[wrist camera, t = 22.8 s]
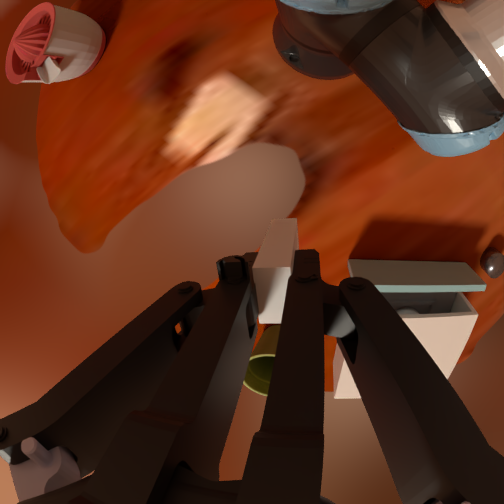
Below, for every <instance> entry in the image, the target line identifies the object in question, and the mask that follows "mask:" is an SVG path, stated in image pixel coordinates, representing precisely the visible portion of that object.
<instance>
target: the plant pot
mask: <svg viewBox="0 0 504 504" xmlns="http://www.w3.org/2000/svg"><path fill="white" fill-rule="evenodd" d="M280 326H281V325H273V326H270V327H268V328H267V329H266V330H265V331H264V333H263V334H262V336H261V338H260V340H259V342H258V343H257V345H256V347H255V349H254V351H253V352H252V354H251V356H250V360H249V364H248V367H247V371H246V374H245V378H244V381H243V383H244V384H245V385H246V386H247V387H248V388H249V389H250V390H252V391H254V392H256V393H258V394H261V395H264V396H267V395H268V390H269V385H270V380H271V375H272V370H273V364H274V359H275V354H276V348H277V343H278V337H279V331H280Z"/></svg>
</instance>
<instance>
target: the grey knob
mask: <svg viewBox="0 0 504 504" xmlns="http://www.w3.org/2000/svg"><path fill="white" fill-rule="evenodd" d="M480 265H481V268H482V269H483V270H484V271H485V272H486V273H487V274H488V275H489V276H490V277H491V278H497V277H499V276H500V275H501V274H502V273H503V271H504V256H503V255H502V254H501V253H500V252H499V251H497V250H496V249H495V248H493V247H490V248H488V249H486V250H485V251H484V253H483V254H482V256H481V260H480Z"/></svg>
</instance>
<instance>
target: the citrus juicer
mask: <svg viewBox="0 0 504 504" xmlns="http://www.w3.org/2000/svg"><path fill="white" fill-rule="evenodd" d="M105 44H106V36H105V33H104V31H103V29H102V28H101V26H100V25H99V24H98V23H96V22H95V21H94V20H93V19H91V18H90V17H88V16H87V15H85V14H82V13H80V12H77V11H73V10H70V9H66V8H63V7H59V6H55V5H53V4H52V3H50V2H45V3H41V4H39V5H37V6H36V7H35V8H33V9H32V10H31V11H30V12H29V13H28V14H27V15H26V17H25V18H24V19H23V20H22V22H21V23H20V25H19V26H18V28H17V30H16V32H15V33H14V36H13V38H12V40H11V43H10V45H9V49H8V52H7V58H6V75H7V78H8V80H9V81H10V82H11V83H13V84H18V83H20V82H44V83H46V84H50V83H52V82H59V81H65V80H69V79H74V78H77V77H79V76H82V75H84V74H86V73H88V72H89V71H90V70H91V69H93V67H94V66H95V65H96V64H97V63H98V61H99V60H100V58H101V56H102V54H103V51H104V48H105Z"/></svg>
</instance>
